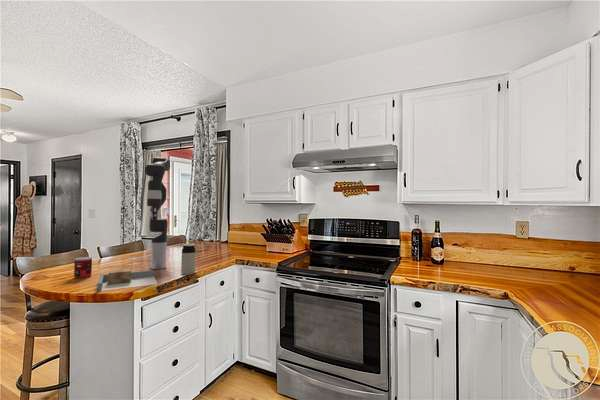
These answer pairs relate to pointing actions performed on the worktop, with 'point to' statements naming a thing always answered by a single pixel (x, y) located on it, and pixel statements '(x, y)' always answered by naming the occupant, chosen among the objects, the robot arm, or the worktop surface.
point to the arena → (136, 280)
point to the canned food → (82, 267)
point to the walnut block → (119, 276)
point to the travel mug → (188, 259)
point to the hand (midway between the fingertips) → (153, 225)
